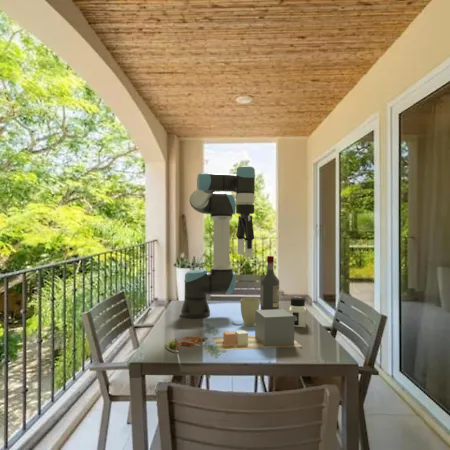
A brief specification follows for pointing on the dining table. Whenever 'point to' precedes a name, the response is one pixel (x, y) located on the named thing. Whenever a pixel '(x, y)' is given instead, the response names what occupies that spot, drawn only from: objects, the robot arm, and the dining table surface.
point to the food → (183, 343)
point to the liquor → (270, 288)
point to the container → (298, 311)
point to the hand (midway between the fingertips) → (244, 255)
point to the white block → (241, 337)
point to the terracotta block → (229, 337)
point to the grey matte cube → (274, 327)
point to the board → (252, 344)
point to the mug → (249, 310)
